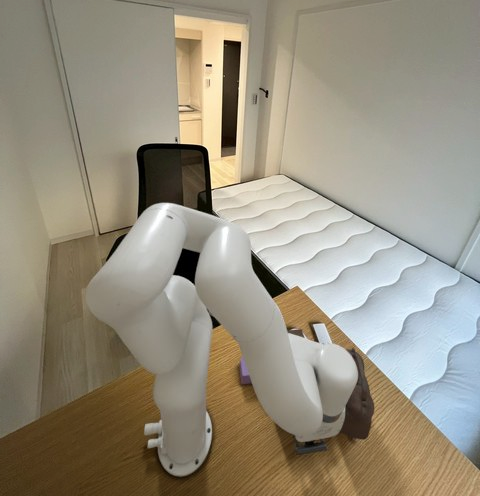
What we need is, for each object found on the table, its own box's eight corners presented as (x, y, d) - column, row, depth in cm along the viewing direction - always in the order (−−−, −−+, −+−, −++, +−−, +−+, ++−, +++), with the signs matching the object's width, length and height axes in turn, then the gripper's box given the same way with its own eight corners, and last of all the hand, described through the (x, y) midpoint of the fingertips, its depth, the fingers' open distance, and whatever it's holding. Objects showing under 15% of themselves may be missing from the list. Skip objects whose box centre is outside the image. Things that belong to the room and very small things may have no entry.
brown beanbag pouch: (362, 456, 57) (391, 415, 49) (331, 446, 58) (353, 404, 50) (350, 384, 70) (371, 341, 62) (324, 377, 71) (341, 334, 63)
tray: (331, 456, 56) (339, 443, 53) (284, 465, 55) (289, 452, 52) (301, 361, 74) (305, 348, 71) (264, 366, 72) (267, 352, 69)
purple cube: (241, 384, 68) (242, 376, 66) (239, 366, 72) (240, 358, 70) (256, 382, 69) (258, 374, 67) (253, 365, 73) (255, 356, 71)
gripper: (294, 427, 45) (280, 466, 52) (368, 414, 47) (344, 453, 55) (282, 379, 51) (271, 420, 59) (347, 370, 54) (328, 410, 61)
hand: (306, 436), depth 57 cm, fingers closed
